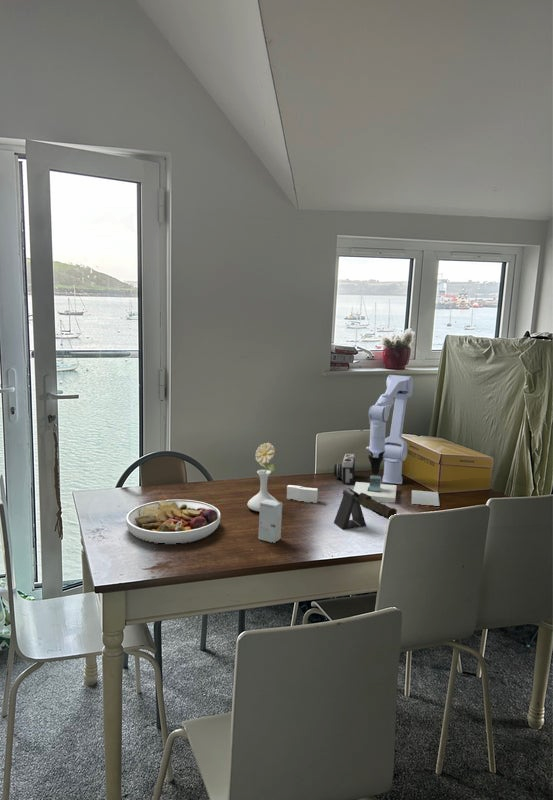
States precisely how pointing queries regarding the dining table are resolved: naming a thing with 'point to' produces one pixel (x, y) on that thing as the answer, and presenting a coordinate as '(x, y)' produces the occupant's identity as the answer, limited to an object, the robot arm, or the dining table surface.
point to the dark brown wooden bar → (376, 505)
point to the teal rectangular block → (375, 483)
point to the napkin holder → (302, 493)
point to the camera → (346, 469)
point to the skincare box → (270, 520)
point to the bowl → (173, 521)
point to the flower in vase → (263, 475)
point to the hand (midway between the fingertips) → (375, 471)
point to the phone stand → (350, 511)
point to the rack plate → (384, 495)
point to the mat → (425, 498)
